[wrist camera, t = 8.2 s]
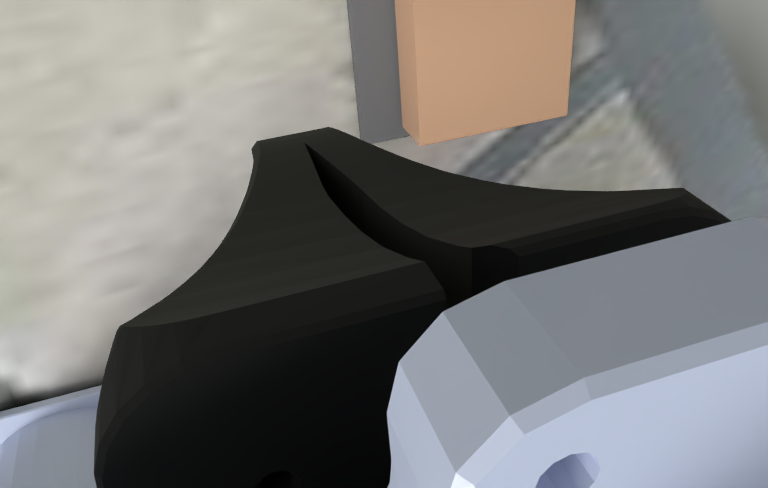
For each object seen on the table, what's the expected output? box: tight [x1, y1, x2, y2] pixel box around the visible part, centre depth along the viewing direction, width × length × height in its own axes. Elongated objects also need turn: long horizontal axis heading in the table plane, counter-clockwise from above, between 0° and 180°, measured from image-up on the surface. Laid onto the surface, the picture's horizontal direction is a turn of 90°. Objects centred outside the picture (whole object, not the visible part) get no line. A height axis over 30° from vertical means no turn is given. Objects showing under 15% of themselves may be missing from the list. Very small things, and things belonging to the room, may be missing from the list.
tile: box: [395, 0, 576, 146], centre depth 21 cm, size 5×2×5 cm
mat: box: [347, 0, 410, 144], centre depth 22 cm, size 6×6×1 cm
